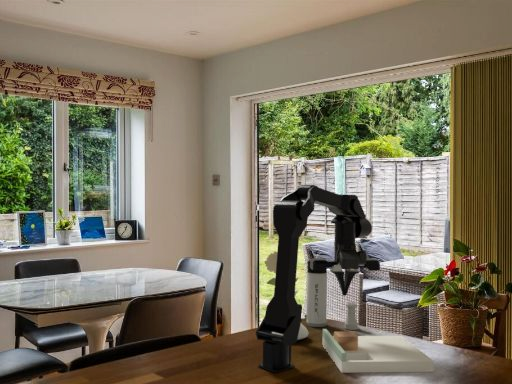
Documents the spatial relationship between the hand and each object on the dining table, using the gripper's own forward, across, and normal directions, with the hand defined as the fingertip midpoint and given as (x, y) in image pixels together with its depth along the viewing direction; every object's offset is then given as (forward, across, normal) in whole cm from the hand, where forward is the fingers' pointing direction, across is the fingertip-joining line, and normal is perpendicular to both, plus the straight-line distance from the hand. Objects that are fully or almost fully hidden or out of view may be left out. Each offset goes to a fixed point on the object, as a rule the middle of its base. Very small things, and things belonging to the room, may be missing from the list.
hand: (344, 295), depth 154 cm
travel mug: (+14, -4, +21) cm, 25 cm away
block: (+11, -3, -14) cm, 18 cm away
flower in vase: (+13, -16, +5) cm, 21 cm away
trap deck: (+13, +5, -14) cm, 20 cm away
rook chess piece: (+14, +6, +16) cm, 22 cm away
